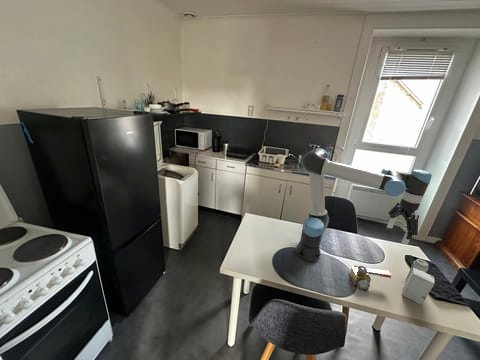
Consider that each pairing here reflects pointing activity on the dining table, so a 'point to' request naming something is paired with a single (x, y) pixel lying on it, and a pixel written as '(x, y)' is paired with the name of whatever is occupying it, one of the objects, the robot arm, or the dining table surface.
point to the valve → (360, 279)
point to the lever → (373, 272)
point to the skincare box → (418, 286)
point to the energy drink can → (419, 266)
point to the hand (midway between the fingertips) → (396, 235)
